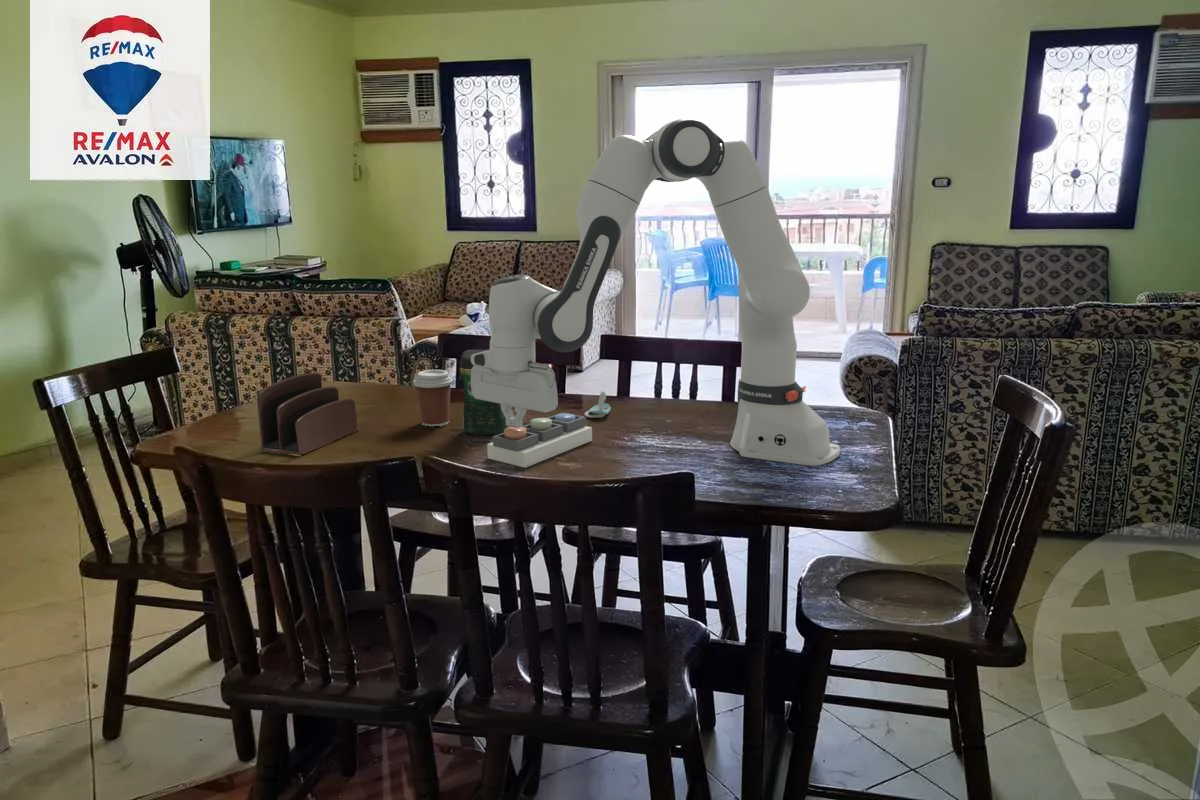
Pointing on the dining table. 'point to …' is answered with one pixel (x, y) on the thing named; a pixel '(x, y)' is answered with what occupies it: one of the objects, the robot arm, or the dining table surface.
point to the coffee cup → (433, 396)
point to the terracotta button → (515, 433)
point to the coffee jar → (479, 405)
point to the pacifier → (599, 408)
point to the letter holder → (303, 415)
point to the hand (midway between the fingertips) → (514, 426)
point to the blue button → (565, 417)
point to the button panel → (540, 442)
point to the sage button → (541, 424)
